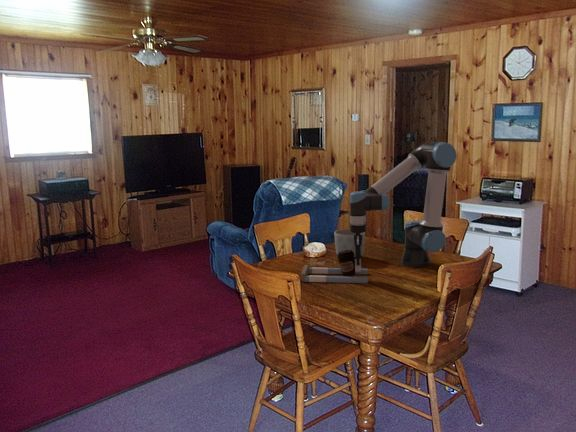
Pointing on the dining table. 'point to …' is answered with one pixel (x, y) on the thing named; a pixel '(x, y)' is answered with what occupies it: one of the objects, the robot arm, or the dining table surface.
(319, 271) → the beam slot
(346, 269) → the coffee cup
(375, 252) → the dining table surface
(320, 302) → the dining table surface
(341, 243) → the planter
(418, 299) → the dining table surface
